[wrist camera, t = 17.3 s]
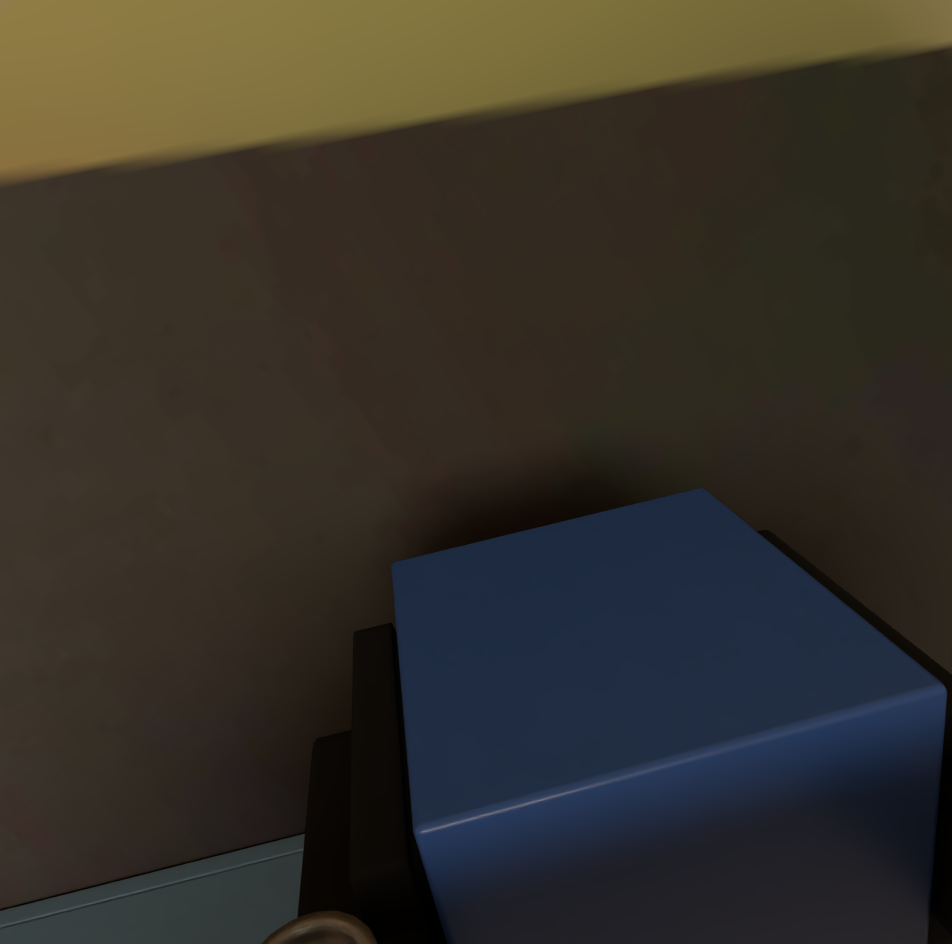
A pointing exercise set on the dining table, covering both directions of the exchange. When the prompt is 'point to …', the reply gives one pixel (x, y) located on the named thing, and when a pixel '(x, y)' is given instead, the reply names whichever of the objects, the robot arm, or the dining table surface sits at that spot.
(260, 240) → the dining table surface
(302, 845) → the blue bin
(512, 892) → the blue block
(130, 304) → the dining table surface
